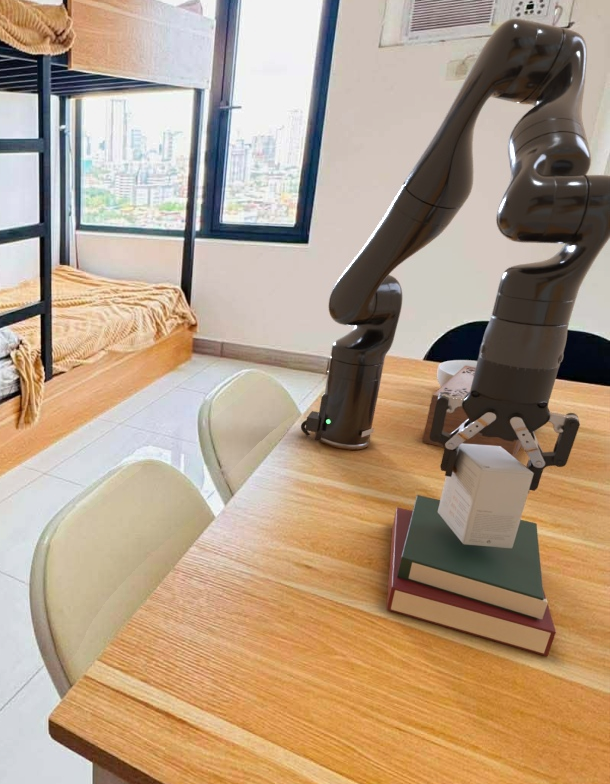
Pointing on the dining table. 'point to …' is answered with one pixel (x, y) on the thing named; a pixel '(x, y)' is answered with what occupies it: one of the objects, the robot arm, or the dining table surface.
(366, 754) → the dining table surface
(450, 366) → the cereal bowl
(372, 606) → the dining table surface
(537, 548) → the books
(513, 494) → the small box
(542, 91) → the robot arm
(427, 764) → the dining table surface
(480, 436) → the tissue box cover
